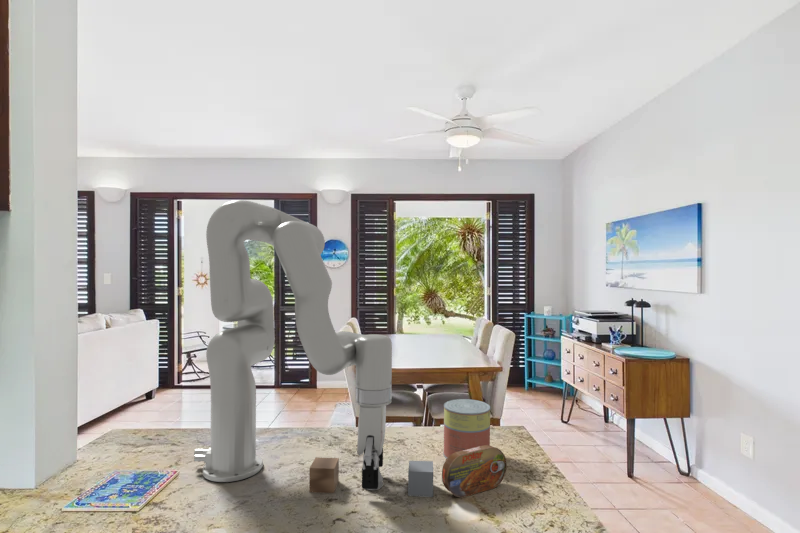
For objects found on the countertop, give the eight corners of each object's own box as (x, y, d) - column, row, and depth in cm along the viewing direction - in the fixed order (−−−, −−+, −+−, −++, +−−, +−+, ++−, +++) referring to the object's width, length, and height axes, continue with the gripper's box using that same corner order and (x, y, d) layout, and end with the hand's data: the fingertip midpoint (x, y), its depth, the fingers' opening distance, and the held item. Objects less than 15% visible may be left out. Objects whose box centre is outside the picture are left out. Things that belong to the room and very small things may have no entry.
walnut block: (309, 492, 91) (309, 467, 91) (315, 480, 96) (315, 457, 96) (333, 493, 90) (334, 468, 90) (338, 481, 95) (338, 458, 95)
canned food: (500, 457, 108) (500, 407, 108) (465, 469, 101) (465, 416, 101) (467, 442, 117) (468, 396, 117) (434, 452, 111) (434, 403, 111)
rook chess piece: (380, 492, 91) (380, 452, 91) (359, 490, 92) (359, 451, 92) (385, 482, 95) (386, 444, 95) (365, 479, 96) (365, 442, 96)
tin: (447, 502, 87) (448, 459, 87) (439, 494, 90) (439, 453, 90) (507, 485, 94) (507, 445, 94) (497, 478, 97) (498, 440, 97)
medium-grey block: (408, 496, 89) (408, 471, 89) (408, 484, 94) (409, 460, 94) (433, 497, 89) (433, 472, 89) (432, 485, 94) (432, 461, 94)
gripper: (361, 383, 102) (361, 458, 102) (348, 407, 85) (347, 497, 85) (394, 384, 102) (393, 459, 102) (388, 408, 84) (387, 498, 84)
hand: (372, 476), depth 93 cm, fingers open, 9 cm apart
